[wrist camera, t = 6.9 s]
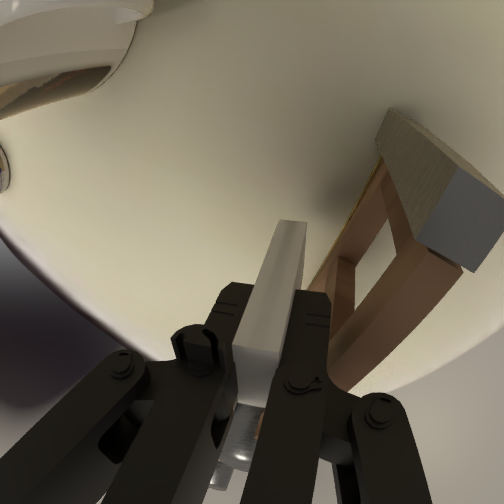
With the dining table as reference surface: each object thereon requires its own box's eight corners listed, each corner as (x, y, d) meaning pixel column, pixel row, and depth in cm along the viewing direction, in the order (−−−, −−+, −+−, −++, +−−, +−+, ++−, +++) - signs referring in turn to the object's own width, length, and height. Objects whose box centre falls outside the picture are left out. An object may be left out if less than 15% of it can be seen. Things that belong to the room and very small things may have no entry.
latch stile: (389, 108, 13) (458, 166, 5) (442, 138, 13) (547, 236, 5) (355, 178, 15) (361, 314, 7) (406, 204, 15) (451, 352, 7)
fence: (361, 139, 14) (383, 239, 6) (413, 166, 14) (482, 291, 6) (228, 391, 29) (191, 480, 21) (257, 402, 29) (225, 493, 21)
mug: (84, -63, 10) (-54, -74, 1) (207, 0, 12) (31, -44, 3) (20, 57, 16) (-102, 95, 7) (111, 142, 18) (-34, 224, 9)
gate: (305, 325, 21) (275, 446, 13) (288, 318, 21) (253, 438, 14) (407, 166, 14) (463, 272, 6) (386, 154, 14) (428, 252, 7)
